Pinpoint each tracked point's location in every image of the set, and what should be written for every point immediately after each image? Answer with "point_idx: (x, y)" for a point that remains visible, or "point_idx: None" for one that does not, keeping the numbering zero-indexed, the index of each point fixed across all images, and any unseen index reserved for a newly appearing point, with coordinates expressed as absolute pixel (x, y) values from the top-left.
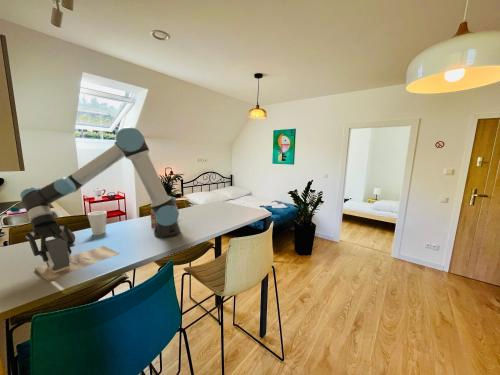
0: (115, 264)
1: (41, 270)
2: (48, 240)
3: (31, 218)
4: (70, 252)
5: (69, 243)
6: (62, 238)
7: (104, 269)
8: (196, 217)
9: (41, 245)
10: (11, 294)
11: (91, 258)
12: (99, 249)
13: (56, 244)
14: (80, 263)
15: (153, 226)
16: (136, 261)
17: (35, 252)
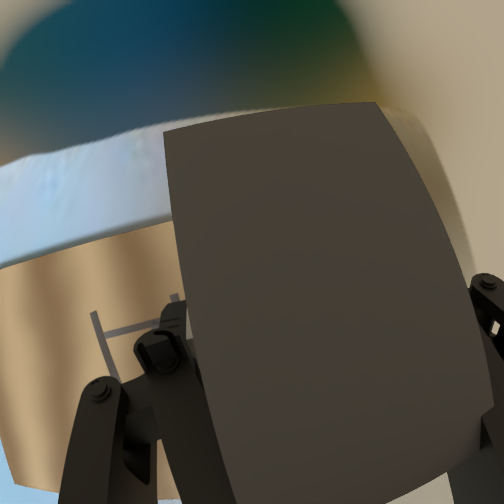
0: (47, 188)
1: None
2: (445, 467)
3: None
4: (175, 304)
5: (134, 401)
6: (195, 493)
7: (95, 167)
8: None
9: (493, 368)
10: (441, 201)
11: (84, 333)
12: (30, 450)
13: (314, 110)
14: (152, 300)
15: None
16: (5, 166)
17: (492, 278)
